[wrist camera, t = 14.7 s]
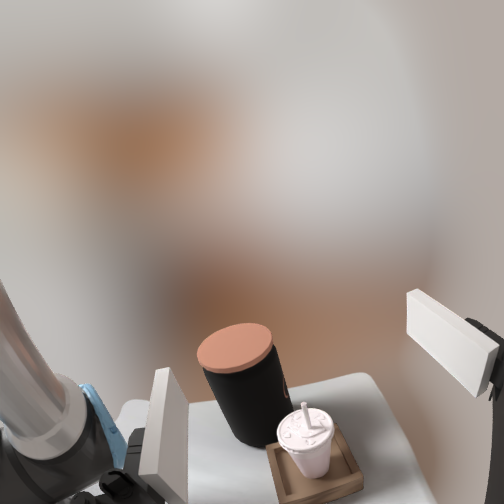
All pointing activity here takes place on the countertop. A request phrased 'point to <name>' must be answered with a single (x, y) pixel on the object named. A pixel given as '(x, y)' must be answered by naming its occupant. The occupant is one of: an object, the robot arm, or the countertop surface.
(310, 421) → the smoothie
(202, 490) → the countertop surface
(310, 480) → the wooden tray
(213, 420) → the countertop surface
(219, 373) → the coffee jar
